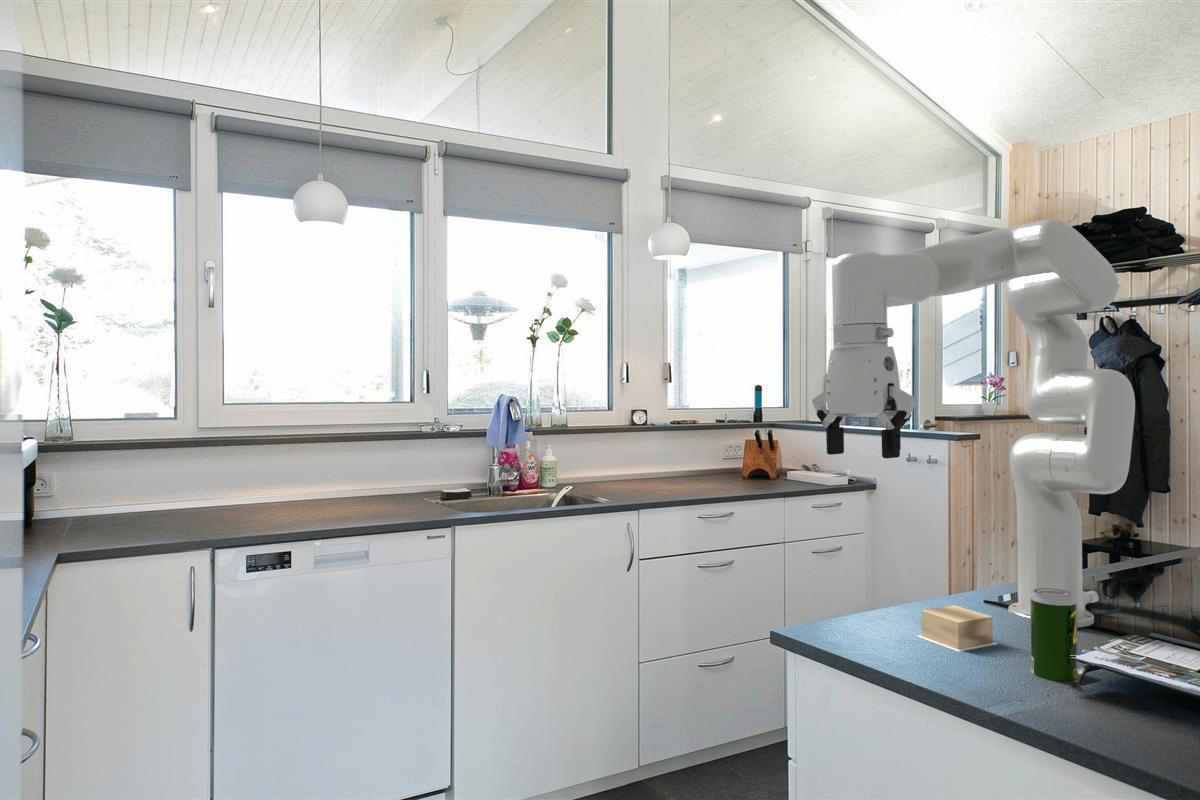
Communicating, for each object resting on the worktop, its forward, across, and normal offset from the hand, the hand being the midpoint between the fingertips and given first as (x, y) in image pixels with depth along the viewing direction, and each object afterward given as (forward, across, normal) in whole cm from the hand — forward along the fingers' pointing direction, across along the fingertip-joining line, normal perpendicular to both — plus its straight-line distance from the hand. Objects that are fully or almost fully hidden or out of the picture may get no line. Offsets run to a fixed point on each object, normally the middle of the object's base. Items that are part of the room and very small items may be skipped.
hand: (862, 455), depth 112 cm
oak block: (+29, -4, -16) cm, 33 cm away
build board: (+30, -4, -16) cm, 34 cm away
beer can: (+30, -20, -13) cm, 39 cm away
